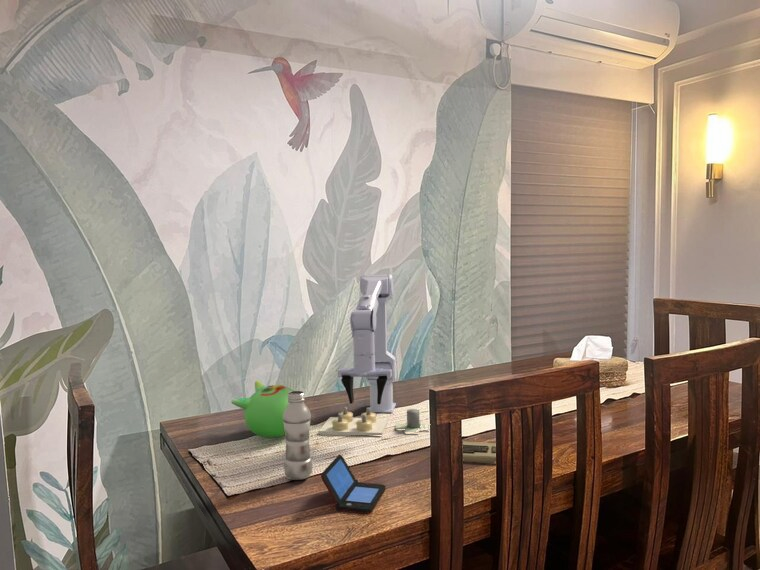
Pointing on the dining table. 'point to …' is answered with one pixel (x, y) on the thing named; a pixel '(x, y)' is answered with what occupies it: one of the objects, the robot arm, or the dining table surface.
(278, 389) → the round green creature toy
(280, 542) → the dining table surface
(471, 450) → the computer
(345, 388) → the robot arm
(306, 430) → the plastic bottle
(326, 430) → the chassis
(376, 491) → the handheld game console
